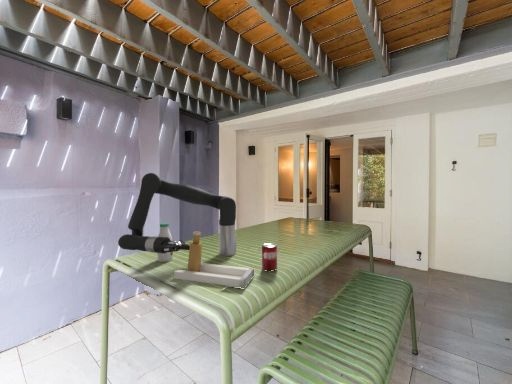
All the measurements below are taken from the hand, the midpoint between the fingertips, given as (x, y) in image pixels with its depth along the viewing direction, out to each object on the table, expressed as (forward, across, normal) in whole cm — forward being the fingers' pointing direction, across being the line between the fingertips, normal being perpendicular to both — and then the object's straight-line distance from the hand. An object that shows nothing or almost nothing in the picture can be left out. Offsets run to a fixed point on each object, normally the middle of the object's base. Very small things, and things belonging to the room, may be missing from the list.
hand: (190, 247), depth 108 cm
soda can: (+32, +17, +13) cm, 39 cm away
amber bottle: (+2, 0, +12) cm, 12 cm away
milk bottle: (-25, +15, +13) cm, 32 cm away
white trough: (+12, 0, +13) cm, 18 cm away
